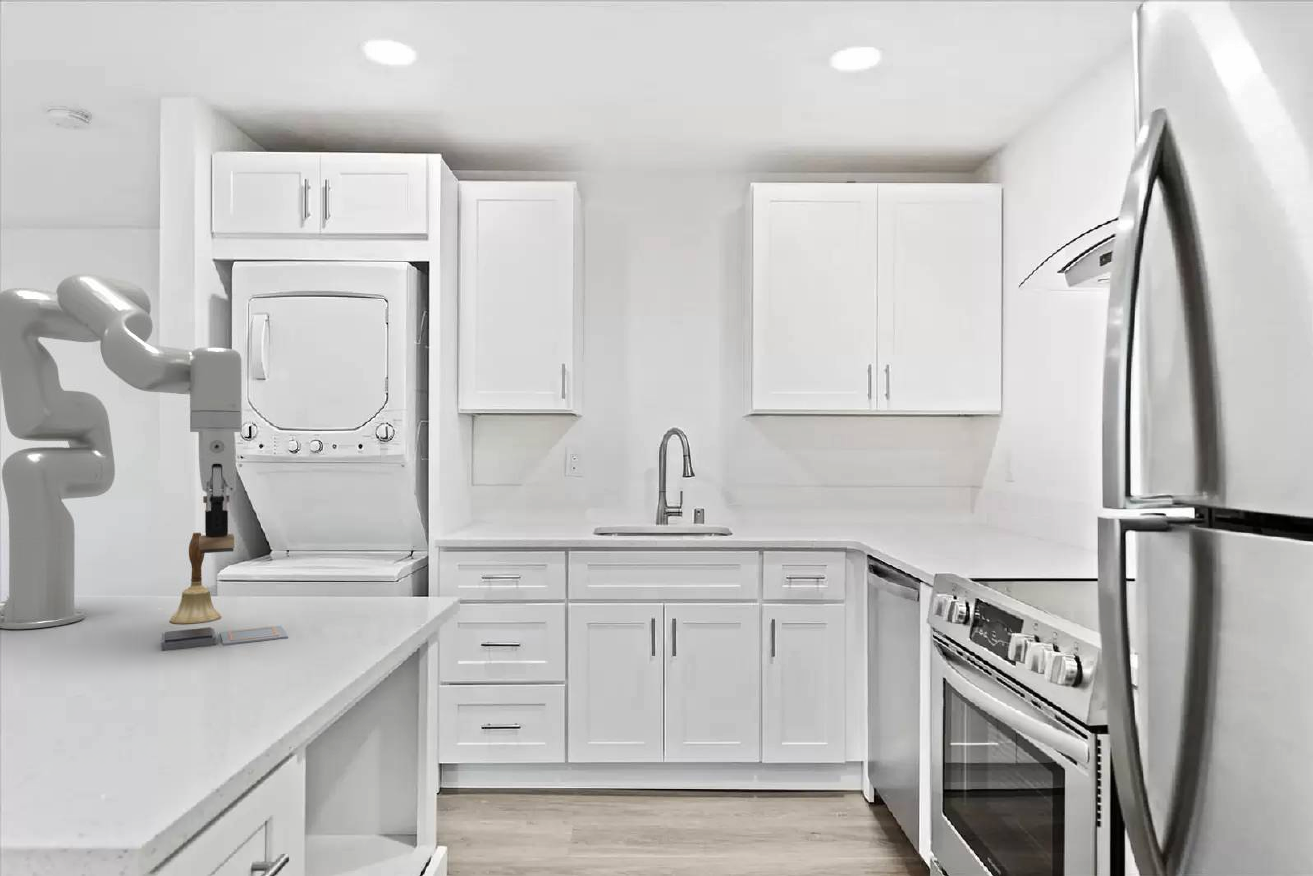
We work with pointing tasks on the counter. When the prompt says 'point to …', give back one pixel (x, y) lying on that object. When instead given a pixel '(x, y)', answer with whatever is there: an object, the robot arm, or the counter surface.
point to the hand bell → (195, 593)
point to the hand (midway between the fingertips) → (216, 533)
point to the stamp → (216, 539)
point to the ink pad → (188, 638)
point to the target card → (252, 635)
